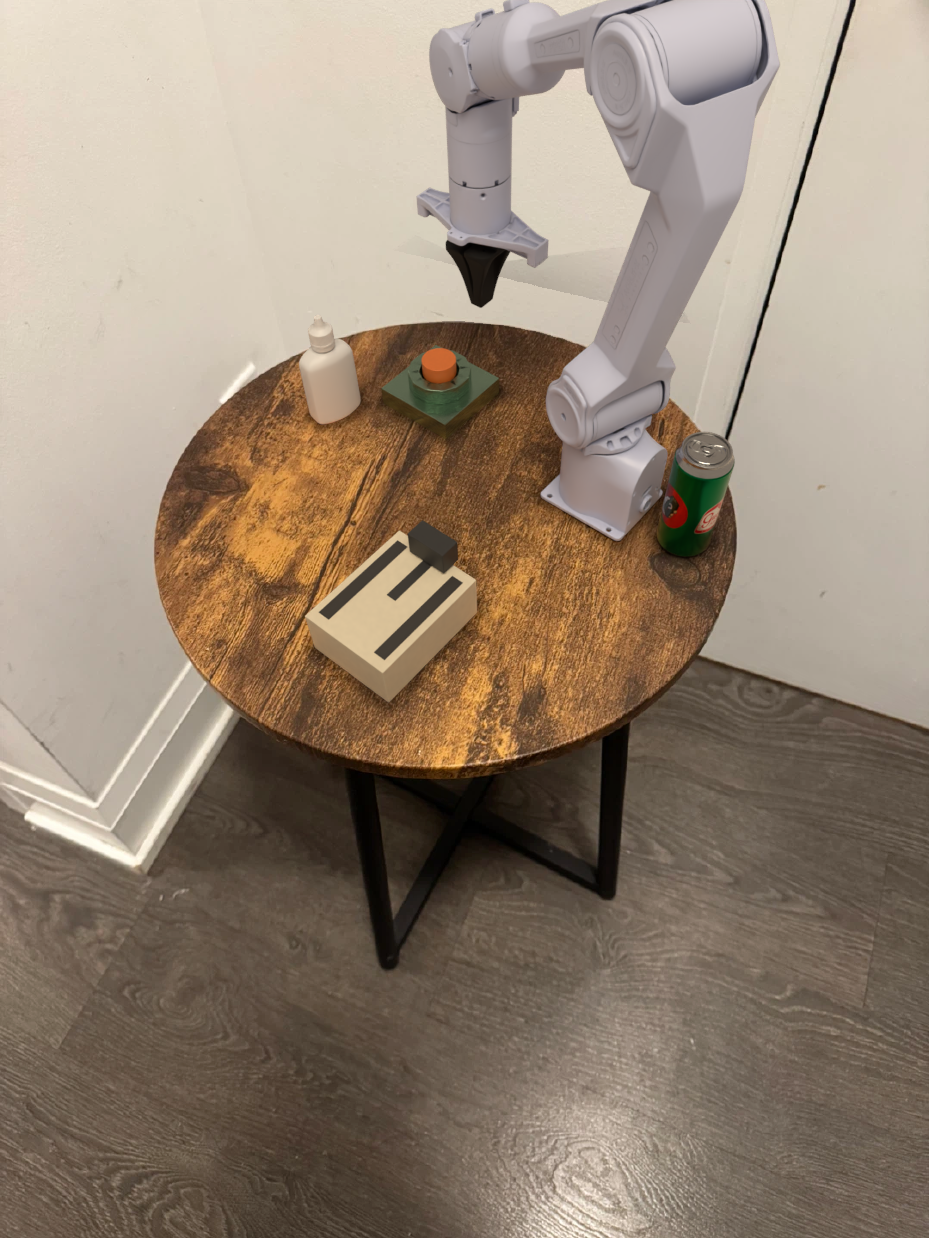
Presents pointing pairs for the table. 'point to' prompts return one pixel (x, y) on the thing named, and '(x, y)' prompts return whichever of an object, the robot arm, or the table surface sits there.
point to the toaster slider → (433, 546)
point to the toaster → (392, 616)
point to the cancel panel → (441, 395)
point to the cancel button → (439, 365)
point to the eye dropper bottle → (328, 375)
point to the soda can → (695, 493)
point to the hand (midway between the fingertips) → (481, 301)
